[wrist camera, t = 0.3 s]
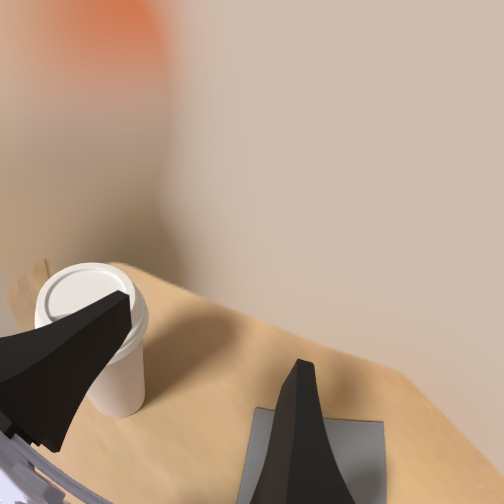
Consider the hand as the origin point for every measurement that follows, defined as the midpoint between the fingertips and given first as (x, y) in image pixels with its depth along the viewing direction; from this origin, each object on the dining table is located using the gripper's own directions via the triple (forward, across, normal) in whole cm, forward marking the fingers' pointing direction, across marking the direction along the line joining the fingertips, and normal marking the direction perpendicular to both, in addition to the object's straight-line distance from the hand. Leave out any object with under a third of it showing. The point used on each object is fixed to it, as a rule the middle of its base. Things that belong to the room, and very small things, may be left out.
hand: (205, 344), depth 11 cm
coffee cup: (+4, +10, +21) cm, 23 cm away
